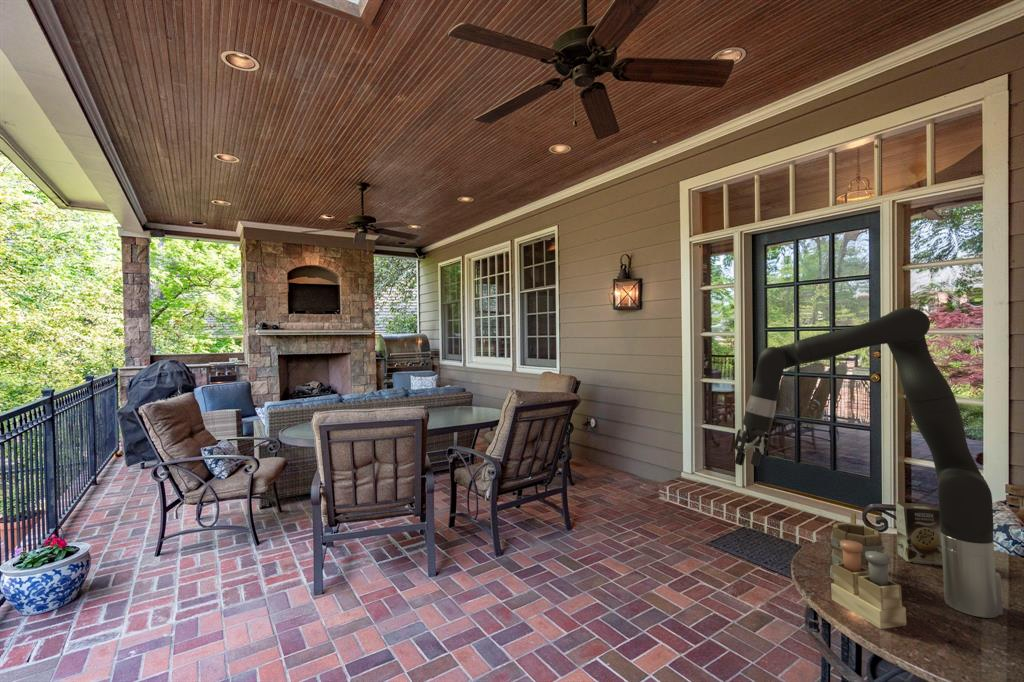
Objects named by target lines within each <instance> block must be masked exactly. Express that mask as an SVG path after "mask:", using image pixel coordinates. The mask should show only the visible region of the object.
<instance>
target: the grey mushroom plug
mask: <svg viewBox="0 0 1024 682" xmlns="http://www.w3.org/2000/svg"><path fill="white" fill-rule="evenodd" d="M865 558H866V560H868V565H869V581H870V582H872V583H874V584H876V585H878V586H880V587H881V586H889V580H890V579H889V565H891V556H889V555H888V554H886V553H884V552H883V553H880V552H875V551H867V552H865Z"/></svg>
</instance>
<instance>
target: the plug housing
mask: <svg viewBox="0 0 1024 682" xmlns="http://www.w3.org/2000/svg"><path fill="white" fill-rule="evenodd" d="M832 565H833V572H834V580H833V583H830V584H831V585H830V589H831V590H830V591H831V600H832V601H834V602H835V603H837V604H838V605H840V606H842V607H844V608H845V609H846V610H848V611H850V612H851V613H853V614H855V615H857V617H860V618H861V619H863V620H865V621H866V622H869V624H872V625H873V626H875V627H877V628H878V629H880V630H884V629H890V628H891V629H892V628H896V627H905V626H907V612H906V611H907V609H906V607H905V606H903V601H902V600H903V599H902V585H900V584H899V583H898V582H897V583H896V582H894V581H893V580H891V579H889V586H881V587H880V586H878V585H876V584H874V583H872V582H870V581H869V570H868V569H866V568H864V567H862V566H861V572H854V573H852V572H850V571H848V570H847V569H845V568H844V566H843V563H836V564H834V563H832Z"/></svg>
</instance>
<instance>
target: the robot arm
mask: <svg viewBox="0 0 1024 682" xmlns="http://www.w3.org/2000/svg"><path fill="white" fill-rule="evenodd" d="M930 327H931V320H930V318H929V316H927V314H926V313H925V312H923V311H922V310H920V309H917V308H913V307H901V308H896V309H894V310H892V311H890V312H888V313H887V314H885V315H882V316H879V317H878V318H876V319H872V320H870V321H867V322H864V323H861V324H858V325H853V326H850V327H846V328H843V329H839V330H835V331H828V332H825V333H820V334H816V335H813V336H809V337H805V338H801V339H799V340H796V341H794V342H793V343H789V344H784V345H781V346H770V347H766V348H764V349H763V350H762V351H761V352H760V354H759V357H758V360H757V361H758V362H757V366H756V370H755V371H756V372H755V378H754V381H753V384H752V388H751V392H750V395H749V398H748V401H747V403H746V409H745V411H744V415H743V421H742V425H743V426H745V429H740V428H739V429H738V430H737V432H736V433H737V434H736V436H735V440H734V443H733V447H732V448H733V449H735V451H736V452H737V453H736V456H735V459H734V463H735V465H738V466H743V465H744V463H745V459H746V456H747V455H746V453H747V452H748V451H749V449H752V448H753V452H752V457H751V460H750V464H751V465H753V466H756V467H759V465H760V462H761V458H762V455H763V454H765V453H767V452H768V451H769V450H768V449H769V447H770V446H769V444H770V440H771V433H769V432H771V429H772V425H773V421H774V417H775V413H776V410H777V409H776V408H777V401H778V397H779V393H780V388H781V379H782V378H783V373H784V371H785V370H786V369H789V368H792V367H795V366H798V365H804V364H809V363H815V362H818V361H822V360H826V359H830V358H834V357H837V356H838V357H839V356H840V355H844V354H847V353H848V354H849V353H850V352H853V351H858V350H861V349H865V348H870V347H874V346H879V345H880V346H881V345H885V344H887V347H888V348H889V350H890V352H891V354H892V357H893V359H894V360H895V362H896V366H897V370H898V374H899V378H900V382H901V385H902V388H903V392H904V395H905V399H906V402H907V405H908V408H909V410H910V414H911V416H912V418H913V421H914V422H915V425H916V427H917V429H918V430H919V432H920V434H921V436H922V438H923V439H924V442H925V443H926V445H927V446H928V448H929V451H930V454H931V456H932V460H933V465H934V469H935V472H936V479H937V492H938V493H937V494H938V509H939V511H940V529H941V544H942V561H943V565H942V576H943V577H942V578H943V591H944V595H943V596H944V602H945V604H946V605H948V606H949V607H950V608H952V609H954V610H955V611H958V612H961V613H962V614H967V615H970V616H973V617H979V618H984V619H985V618H986V619H987V618H988V619H992V618H993V619H994V618H997V617H998V616H1003V615H1004V610H1003V595H1002V579H1001V578H1002V577H1001V574H1000V573H999V572H997V571H996V559H995V546H994V530H995V527H994V526H995V525H994V508H993V497H992V496H993V495H992V491H991V489H990V486H989V484H988V483H987V481H986V479H985V478H984V476H983V475H982V473H981V471H980V469H979V467H978V466H977V464H976V462H975V459H974V457H973V455H972V453H971V451H970V449H969V446H968V442H967V438H966V431H965V426H964V422H963V418H962V414H961V411H960V408H959V405H958V402H957V400H956V397H955V394H954V393H953V389H952V387H951V386H950V384H949V383H948V381H947V380H946V378H945V376H944V375H943V373H942V372H941V371H940V369H939V368H938V366H937V365H936V363H935V362H934V360H933V358H932V355H931V353H930V351H929V347H928V343H927V339H926V336H925V335H927V334H928V332H929V330H930Z"/></svg>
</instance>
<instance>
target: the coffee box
mask: <svg viewBox="0 0 1024 682" xmlns="http://www.w3.org/2000/svg"><path fill="white" fill-rule="evenodd" d="M895 510H896V512H895V513H896V514H895V516H896V540H897V541H896V542H897V545H896V546H897V554H898V555H899V556H900V557H901V558H902V557H903V558H902V559H903V560H905V561H906V562H907V561H908V562H907V563H910V562H913V563H912V564H922V565H932V564H934V566H943V561H942V544H941V529H940V511H939V507H938V508H937V507H935V506H933V505H932V504H928V503H927V504H926V503H925V504H924V503H912V502H911V503H909V502H900V501H899V502H898V501H897V502H896V501H895Z"/></svg>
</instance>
